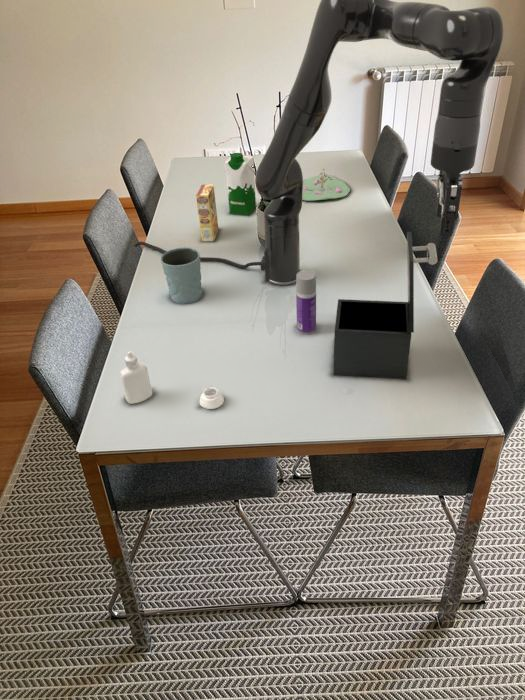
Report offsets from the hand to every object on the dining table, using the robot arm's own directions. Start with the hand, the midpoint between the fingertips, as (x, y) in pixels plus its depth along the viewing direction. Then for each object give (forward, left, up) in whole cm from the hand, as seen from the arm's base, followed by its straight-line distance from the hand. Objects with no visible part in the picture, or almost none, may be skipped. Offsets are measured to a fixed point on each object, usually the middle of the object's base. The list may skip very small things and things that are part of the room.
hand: (443, 225), depth 114 cm
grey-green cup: (-62, +24, -33) cm, 74 cm away
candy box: (-64, +61, -33) cm, 94 cm away
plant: (-32, +101, -33) cm, 111 cm away
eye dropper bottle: (-61, -18, -33) cm, 71 cm away
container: (-28, +11, -33) cm, 44 cm away
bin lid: (-5, 0, -13) cm, 14 cm away
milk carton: (-57, +81, -33) cm, 104 cm away
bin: (-12, 0, -33) cm, 35 cm away
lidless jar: (-45, -18, -33) cm, 58 cm away
